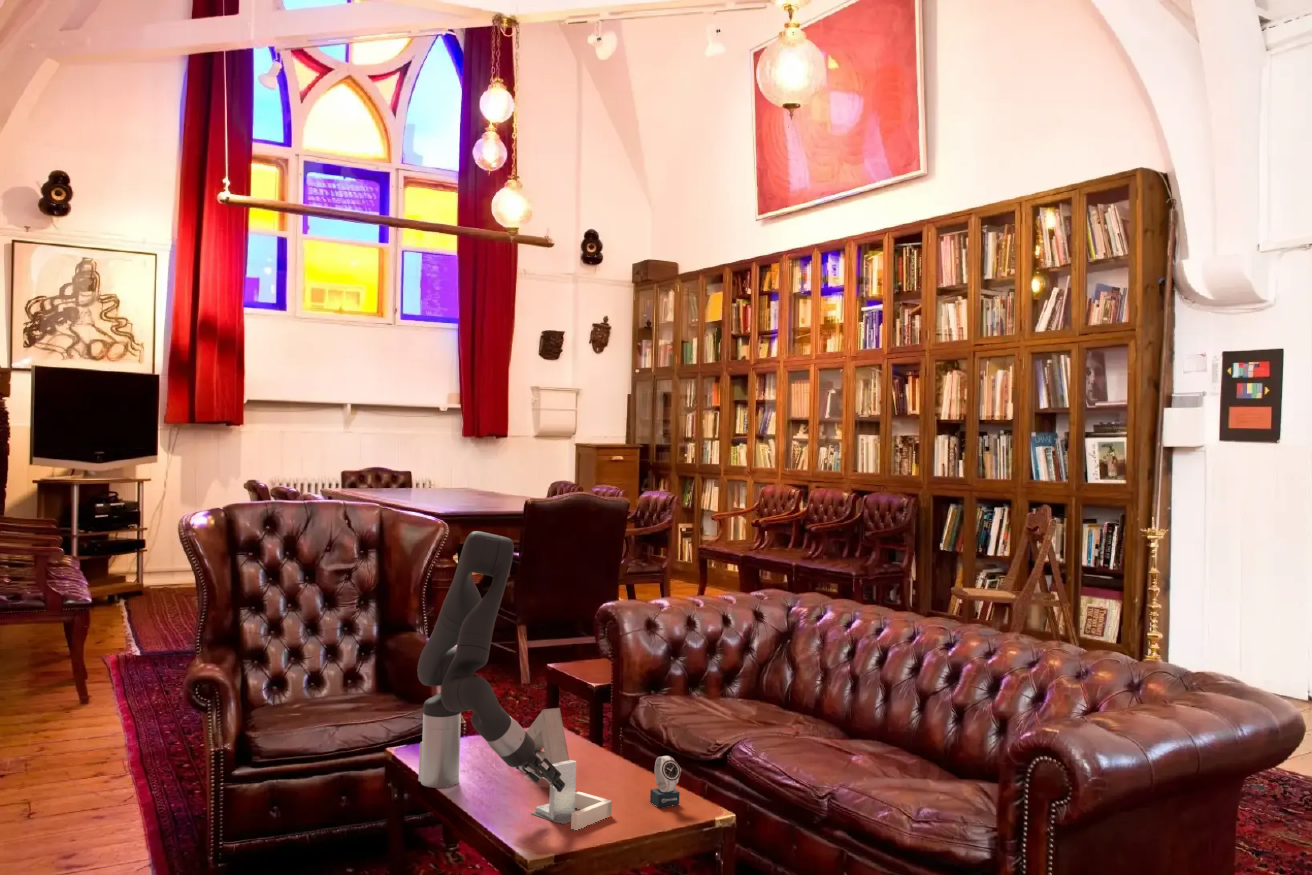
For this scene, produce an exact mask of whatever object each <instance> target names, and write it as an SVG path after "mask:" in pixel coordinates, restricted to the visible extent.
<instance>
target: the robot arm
mask: <svg viewBox="0 0 1312 875" xmlns="http://www.w3.org/2000/svg"><path fill="white" fill-rule="evenodd" d="M514 547H515V545H514V541H513V540H512V539H511V538H510V537H507V536H502V535H498V534H493V533H490V532H484V531H478V530H477V531H476V530H475V531H474V530H473V531H471V532H470V533H469V534H468V536H467V537H466V538H465V541H464V543H463V546H462V550H461V552H460V556H459V560H458V563H457V566H456V570H455V573H454V576H453V580H452V581H451V584H450V587H449V589H448V592H447V594H446V596H445V599H444V600H443V603H442V606H441V609H440V611H439V613H438V617H437V620H436V622H435V625H434V628H433V630H432V633H431V635H430V637H429V638H428V640H427V642H426V643H425V646H424V647H423V649H422V651H421V653H420V657H419V659H418V663H417V669H416V670H417V671H416V672H417V678H418V680H419V682H420V683H421V684H422V685H424V686H426V687H438V686H439V687H440V686H441V688H440V692H439V693H437V694H435V695H433V696H432V697H428V699H425V701H424V703H423V706H422V708H423V709H422V710H423V712H422V713H423V714H422V736H421V739H422V741H420V743H419V748H418V749H419V752H418V779H417V780H418V782H420V784H421V785H422V786H424V787H426V788H434V789H440V788H442V789H443V788H449V787H453V786H456V785H457V784H458V783H459V781H460V757H461V756H460V754H461V724H462V723H461V719H462V712H468V711H469V712H470V711H472V714H471V718H470V719H471V720H470V721H471V725H472V727H473V728H474V730H475V731H476V732H477V733H478V734H479V735H480V736H481V737H482V738H483V739H484V740H485V741H486V743H487V744H488V745H489V747H490V748H491V749H492V750H493V751H494V752H495V753H496V754H497V756H498V757H500V759H501V760H502V761H504V763H505V764H506V765H508V766H509V767H510V768H515V769H516V770H520V771H522V773H523V774H526V775H527V776H528V777H529V778H530V780H532V781H533V782H534V783H539V781H540V780H541V779H543V780H545V781H546V782H547V783H548V784H549V785H550V784H551V785H552V786H553V787H554V788H555V789H556V790H557V791H558V792H561V791H562V789H563V788H564V787H565V783H564V782H563V781H562V780H561V779H560V778H559V777H560V776H561V773H560V772H559V771H558V770H557V769H556V768H555V767H554V766H553V765H552V764H551V763H550V762H549V761H548V759H546V758H544V759H542V758H541V756H540V755H538V754H537V753H536V752H535V753H534V750H535V742H534V740H533V739H532V738H531V737H530V736H529V734H528V733H527V730H525V729H524V728H523V727H522V726H521V724H519V722H518V721H517V720H516V719H514V718H513V717H512V716H510V715H509V714H508V712H507V711H506V710H505V709H504V708H503V707H502V706H501V704H500V703H499V699H498V698H497V695H496V694H495V692H494V690H493V687H492V686H491V683H489V681H488V680H486V679H485V678H484V677H482V676H479V675H474V674H475V673H476V671H478V670H479V669H481V668H483V667H485V666H486V665H487V663H488V661H489V656H490V652H491V651H490V650H491V644H492V638H493V633H494V628H495V624H496V623H495V622H496V621H497V617H498V612H499V609H500V607H501V603H502V599H503V597H504V593H505V589H506V587H507V586H506V585H507V582H508V578H509V575H510V572H511V568H512V563H513V558H514V550H515V548H514ZM472 573H475V574H480V575H484V576H489V577H492V582H491V585H490V586H489V589H488V590H487V592H486V594H485V595H484V596H483V597H482V596H481V593H480V592H479V590H478V587H477V585H476V583H475V582H474V579H473V575H472ZM455 784H456V785H455Z"/></svg>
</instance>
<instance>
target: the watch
mask: <svg viewBox="0 0 1312 875" xmlns="http://www.w3.org/2000/svg"><path fill="white" fill-rule="evenodd" d="M654 763H655V764H654V771H653V772H654V779H655V784H656V786H657V787H658V788H650V793H649V794H650V796H649V798H650V799H649V803H650V802H651V804H652V803H653V804H654V805H656V806H657V807H658V808H657V807H656V806H655V807H656V808H657V809H661V808H660V807H664V808H668V807H667V806H671V807H673V806H672V805H678V804H679V805H680V790H679V791H678V790H677V789H676V787H677V784H678V783H679V780H680V776H681V772H682V768H681V767H680V765H679V764H678V762H677V761H676V760H675V759H674V758H673V757H672V756H670V755H663V756H658V757H656V760H655V762H654ZM653 804H652V805H653ZM654 805H653V806H654ZM679 805H678V806H679Z"/></svg>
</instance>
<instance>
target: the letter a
mask: <svg viewBox="0 0 1312 875" xmlns="http://www.w3.org/2000/svg"><path fill="white" fill-rule="evenodd" d="M563 723H564V722H563V719H562V712H561V708H560V707H554V708H553V707H552V708H543V709H542V710H541V712H540V713H539V714H538V716H537V717H536V718H535V720H534V721H533V722H532V724H530V726H529V728H528V729H527V730H526V732H527V733H528V734H529V736H530V737H531V738H532V739H533V740H534V742H535V750H534V753H535V752H536V753H537V754H538V755H540V756H541V758H542V759H544V758H546V759H548V761H549V762H550V763H551V764H555V763H559V762H564V761H568V760H570V756H569V752H568V745H567V740H566V735H565V729H564V724H563Z"/></svg>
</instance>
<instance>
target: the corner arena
mask: <svg viewBox="0 0 1312 875" xmlns="http://www.w3.org/2000/svg"><path fill="white" fill-rule="evenodd" d="M575 808H577V809H576V810H575V811H576V812H573V813H572V816H571V822H570V829H571V830H572V829H574V830H573V831H575V830H577V831H579V830H578V829H580V830H582V829H584V827H585V828H586V826H587V825H590V824H592V825H594V824H596V823H595V822H597V821H599V820H602V819H604V820H606V819H605V818H606V817H608V816H611V817H612V812H613V810H612V809H613V802H612V800H610V799H606V798H603V797H601V796H596V795H594V794H593V795H592V794H589V793H585V792H582V791H577V792H575ZM579 809H580V810H579ZM602 821H603V820H602ZM599 822H600V821H599ZM593 823H594V824H593ZM597 823H598V822H597ZM590 826H591V825H590ZM587 827H588V826H587ZM581 828H582V829H581Z"/></svg>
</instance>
